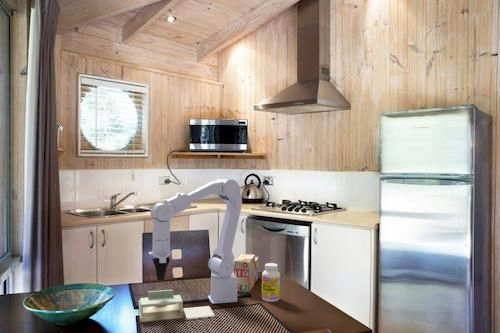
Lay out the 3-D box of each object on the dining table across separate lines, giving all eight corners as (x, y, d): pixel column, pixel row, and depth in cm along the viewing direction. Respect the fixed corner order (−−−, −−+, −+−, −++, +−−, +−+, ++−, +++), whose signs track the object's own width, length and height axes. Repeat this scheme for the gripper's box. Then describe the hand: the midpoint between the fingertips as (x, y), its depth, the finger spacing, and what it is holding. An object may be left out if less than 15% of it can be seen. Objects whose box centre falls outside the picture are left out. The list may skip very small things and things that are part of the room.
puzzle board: (177, 300, 142) (177, 296, 142) (183, 317, 126) (183, 314, 126) (138, 303, 138) (138, 300, 138) (140, 322, 122) (140, 318, 122)
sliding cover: (179, 305, 133) (180, 288, 133) (182, 311, 126) (182, 294, 126) (140, 308, 129) (140, 291, 129) (140, 315, 123) (141, 298, 123)
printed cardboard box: (244, 276, 174) (245, 249, 174) (258, 277, 173) (259, 250, 173) (233, 291, 153) (233, 260, 153) (248, 293, 152) (249, 261, 152)
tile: (209, 307, 135) (209, 305, 135) (214, 317, 127) (214, 315, 127) (183, 309, 132) (183, 308, 132) (186, 319, 124) (186, 318, 124)
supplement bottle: (258, 300, 143) (259, 265, 143) (265, 295, 149) (265, 261, 149) (276, 303, 140) (277, 267, 140) (281, 297, 146) (282, 263, 146)
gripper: (147, 235, 137) (147, 274, 137) (150, 243, 123) (149, 286, 123) (168, 234, 139) (167, 273, 139) (172, 242, 126) (172, 285, 126)
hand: (160, 279), depth 132 cm, fingers closed
